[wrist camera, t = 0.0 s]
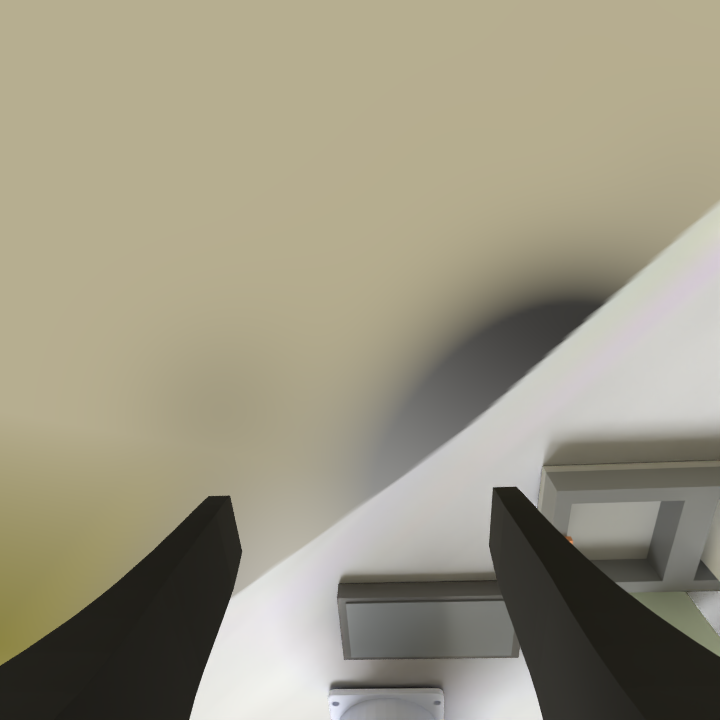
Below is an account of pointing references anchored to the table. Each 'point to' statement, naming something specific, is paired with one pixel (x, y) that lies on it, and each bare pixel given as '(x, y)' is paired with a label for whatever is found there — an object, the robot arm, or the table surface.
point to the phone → (425, 621)
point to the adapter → (713, 546)
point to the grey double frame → (637, 520)
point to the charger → (681, 616)
